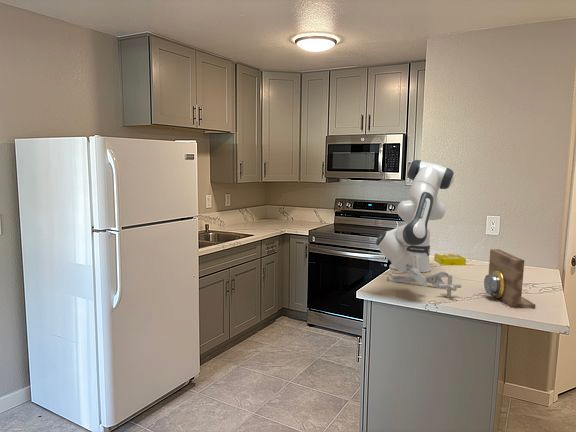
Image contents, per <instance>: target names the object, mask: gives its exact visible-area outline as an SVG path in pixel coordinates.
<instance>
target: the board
mask: <svg viewBox="0 0 576 432" xmlns="http://www.w3.org/2000/svg"><path fill="white" fill-rule="evenodd" d="M524 269H525V259H523V258H519V257H518V256H516V255H513V254H510V253H508V252H505V251H504V250H502V249H499V248H498V249H496V248H495V249H491V248H490V250H489V263H488V274H487V275H492V274H493V272H494V271H501V272H502V273H503V275H504V278H505V293H504V295H503V297H502V298H497V299H498V300H499V301H501V302H502V303H504V305H506V306H508V307H510V308H512V309H514V308H517V309H536V304H535V303H533V302H532V301H530V300H528V299H526V298H525V297H523V296H522V294H523V293H522V291H523V281H524V271H525V270H524ZM490 294H491V295H492V296H493V297H494V295H493V293H490Z"/></svg>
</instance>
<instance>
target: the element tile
mask: <svg viewBox="0 0 576 432" xmlns="http://www.w3.org/2000/svg"><path fill="white" fill-rule="evenodd" d="M433 257H434V258H433V261H435V262H436V263H437V264H439V265H442V266H466V263H467V262H466V261H467V259H466V257H464V256H461V255H460V254H457V253H434V256H433Z"/></svg>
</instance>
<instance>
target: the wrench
mask: <svg viewBox="0 0 576 432" xmlns="http://www.w3.org/2000/svg"><path fill="white" fill-rule="evenodd" d="M449 274H450V273H448V272H447V271H439V272H436V273H435V274H430V275H428V276H427V275H423V276H424V277H425V278H426V280H427V281H426V283H427V284H431V285H433V287H434V288H435V289H439V288H438V284H443V282H444V281H442V280H443V277H446V278H448V275H449ZM389 278H391V279H392V280H390V279H389ZM386 281H387V282H392V283H418V282H417V281H416V280H415V279H414V278H413V277H412V276H411V275H395V274H394V275H391V274H390V275H388V276H387V277H386Z"/></svg>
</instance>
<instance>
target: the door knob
mask: <svg viewBox="0 0 576 432" xmlns="http://www.w3.org/2000/svg"><path fill="white" fill-rule="evenodd" d="M483 282H484V283H483V288H484V290H485V292H486V294H491V293H493V295H494V296H493V295H492V296H493V297H494V298H496V299H498V298H502V297H503V295H504V293H505V278H504V275H503V273H502V272H501V271H494V272H493V274H492V275H488V274H486V275H485V277H484V280H483Z"/></svg>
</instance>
